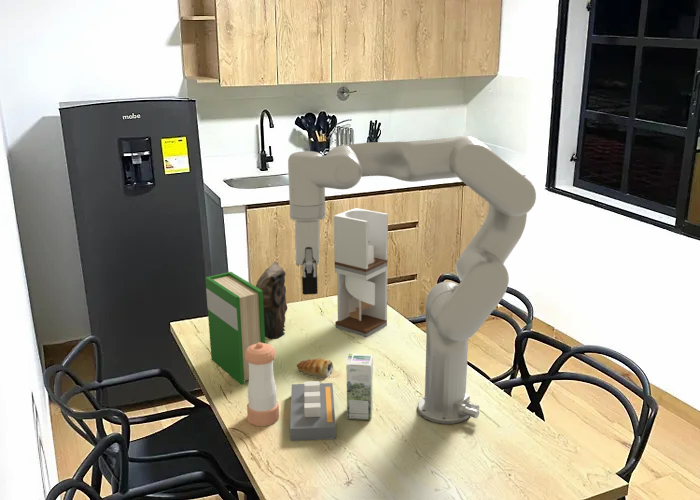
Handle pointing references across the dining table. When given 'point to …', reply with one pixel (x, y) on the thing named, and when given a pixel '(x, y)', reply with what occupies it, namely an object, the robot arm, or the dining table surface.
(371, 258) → the white tower
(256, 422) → the pepper shaker
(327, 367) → the pastry
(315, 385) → the paddle
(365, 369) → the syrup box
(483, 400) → the dining table surface
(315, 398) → the middle paddle
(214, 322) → the hardback book
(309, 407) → the paddle
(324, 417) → the breaker panel
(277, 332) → the owl
